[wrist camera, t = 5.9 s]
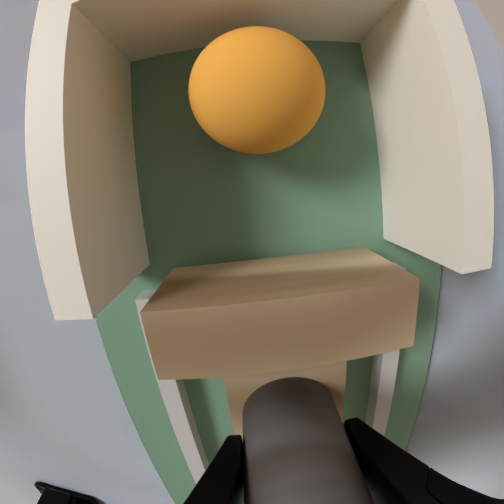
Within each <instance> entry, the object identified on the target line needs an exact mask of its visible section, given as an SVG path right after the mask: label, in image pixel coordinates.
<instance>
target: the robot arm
mask: <svg viewBox="0 0 504 504" xmlns="http://www.w3.org/2000/svg"><path fill="white" fill-rule="evenodd" d="M344 427H345V430H346V432H347V435H348V437H349V440H350V443H351V445H352V448H353V450H354V453H355V455H356V458H357V460H358V463H359V466H360V468H361V471H362V473H363V476H364V478H365V481H366V484H367V486H368V489H369V492H370V494H371V497H372V499H373V502H374V504H504V499H496V498H492V497H489V496H487V495H484V494H482V493H479V492H477V491H474V490H472V489H470V488H467V487H465V486H463V485H460V484H458V483H456V482H454V481H452V480H450V479H448V478H447V477H445V476H443V475H442V474H440V473H438V472H437V471H435V470H434V469H432V468H430V469H429V466H427V465H426V464H424V463H423V462H421V461H420V460H418V459H417V458H415V457H414V456H412V455H411V454H409V453H408V452H406V451H405V450H403V449H402V448H400V447H399V446H397V445H396V444H394V443H393V442H392V441H390V440H389V439H387V438H386V437H384V436H383V435H382V434H380V433H379V432H377V431H376V430H375V429H373V428H372V427H370V426H369V425H368V424H366V423H365V422H364V421H362V420H361V419H359V418H358V417H354V418H350V419H346V420H345V422H344ZM34 485H35V487H36V488H37V489H38V490H39V491H40V493H41V494H42V495H41V497H40V499H39V501H38V503H37V504H98V503H97V502H96V500H94V499H93V498H91V497H88V496H84V495H80V494H77V493H73V492H69V491H66V490H62V489H59V488H56V487H52V486H49V485H46V484H43V483H40V482H36V483H35V484H34ZM183 504H244V482H243V441H242V436H241V435H229V436H227V438H226V439H225V441H224V442H223V444H222V446H221V447H220V449H219V450H218V452H217V453H216V455H215V457H214V458H213V460H212V461H211V463H210V464H209V466H208V467H207V469H206V470H205V472H204V473H203V475H202V477H201V478H200V480H199V481H198V482H197V484H196V485H195V487H194V488H193V490H192V491H191V493H190V494H189V496H188V497H187V499H186V500H185V501H184V503H183Z"/></svg>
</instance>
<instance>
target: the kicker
mask: <svg viewBox="0 0 504 504" xmlns="http://www.w3.org/2000/svg"><path fill="white" fill-rule="evenodd" d="M419 283H420V278H418V277H417V276H415V275H413V274H412V273H410V272H408V271H406V270H405V269H403V268H401V267H399V266H398V265H396V264H394V263H392V262H391V261H389V260H387V259H385V258H384V257H382V256H380V255H378V254H376V253H375V252H373V251H371V250H369V249H367V248H366V247H359V248H351V249H342V250H333V251H325V252H316V253H307V254H299V255H290V256H281V257H272V258H263V259H254V260H245V261H236V262H227V263H217V264H208V265H199V266H189V267H180V268H173V269H172V271H171V272H170V273H169V275H168V276H167V277H166V278H165V280H164V281H163V282H162V284H161V285H160V286H159V288H158V289H157V290H156V291H155V293H154V294H153V295H152V297H151V298H150V299H149V301H148V302H147V303H146V305H145V306H144V307H143V309H142V310H141V311H140V315H141V319H142V323H143V327H144V331H145V335H146V339H147V342H148V346H149V350H150V353H151V357H152V360H153V364H154V367H155V371H156V374H157V377H158V380H179V379H202V378H218V377H223V379H224V384H225V389H226V394H227V399H228V404H229V409H230V414H231V419H232V423H233V428H234V433H235V435H241V436H242V441H243V482H244V504H374V502H373V499H372V497H371V494H370V492H369V489H368V486H367V484H366V481H365V478H364V476H363V473H362V471H361V468H360V466H359V463H358V460H357V458H356V455H355V453H354V450H353V448H352V445H351V443H350V440H349V437H348V435H347V432H346V430H345V427H344V425H343V411H344V398H345V384H346V366H347V361H349V360H354V359H359V358H364V357H368V356H373V355H378V354H382V353H386V352H391V351H395V350H399V349H403V348H407V347H411V346H413V344H414V336H415V328H416V319H417V309H418V298H419Z"/></svg>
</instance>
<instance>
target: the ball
mask: <svg viewBox="0 0 504 504" xmlns="http://www.w3.org/2000/svg"><path fill="white" fill-rule="evenodd" d="M188 94H189V102H190V106H191V109H192V112H193V114H194V116H195V118H196V120H197V122H198V123H199V125H200V126H201V127H202V129H203V130H204V131H205V132H206V133H207V134H208V135H209V136H210V137H211V138H212V139H214V140H215V141H217V142H218V143H220V144H221V145H223V146H225V147H227V148H230V149H232V150H235V151H238V152H243V153H250V154H265V153H272V152H276V151H279V150H282V149H285V148H287V147H289V146H291V145H293V144H295V143H296V142H298V141H299V140H301V139H302V138H303V137H304V136H305V135H306V134H308V132H309V131H310V130H311V129H312V128H313V126H314V125H315V124H316V122H317V120H318V118H319V117H320V114H321V112H322V109H323V106H324V101H325V94H326V92H325V79H324V75H323V72H322V69H321V66H320V64H319V62H318V60H317V58H316V57H315V56H314V54H313V53H312V52H311V50H310V49H309V48H308V47H307V46H306V45H305V44H304V43H303V42H301V41H300V40H299V39H297V38H296V37H294V36H293V35H291V34H289V33H287V32H285V31H282V30H279V29H276V28H271V27H265V26H248V27H242V28H237V29H234V30H231V31H229V32H227V33H225V34H222V35H221V36H219V37H217V38H216V39H214V40H213V41H212V42H211V43H209V44H208V45H207V46H206V48H205V49H204V50H203V51H202V52H201V53H200V55H199V56H198V58H197V59H196V61H195V63H194V65H193V68H192V70H191V74H190V78H189V85H188Z"/></svg>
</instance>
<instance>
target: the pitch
mask: <svg viewBox="0 0 504 504" xmlns="http://www.w3.org/2000/svg"><path fill="white" fill-rule="evenodd" d="M248 26H265V27H271V28H276V29H279V30H282V31H285V32H287V33H289V34H291V35H293V36H294V37H296V38H297V39H299V40H300V41H301V42H303V43H304V44H305V45H306V46H307V47H308V48H309V49H310V50H311V52H312V53H313V54H314V56H315V57H316V58H317V60H318V62H319V64H320V66H321V69H322V72H323V75H324V79H325V92H326V94H325V101H324V106H323V109H322V112H321V114H320V117H319V118H318V120H317V122H316V124H315V125H314V126H313V128H312V129H311V130H310V131H309V132H308V134H306V135H305V136H304V137H303V138H302V139H301V140H299V141H298V142H296V143H295V144H293V145H291V146H289V147H287V148H285V149H282V150H279V151H276V152H272V153H265V154H250V153H243V152H238V151H235V150H232V149H230V148H227V147H225V146H223V145H221V144H220V143H218V142H217V141H215V140H214V139H212V138H211V137H210V136H209V135H208V134H207V133H206V132H205V131H204V130H203V129H202V127H201V126H200V125H199V123H198V122H197V120H196V118H195V116H194V114H193V112H192V109H191V106H190V102H189V94H188V85H189V78H190V74H191V70H192V68H193V65H194V63H195V61H196V59H197V58H198V56H199V55H200V53H201V52H202V51H203V50H204V49H205V48H206V46H207V45H208V44H209V43H211V42H212V41H213V40H214V39H216V38H217V37H219V36H221V35H222V34H225V33H227V32H229V31H231V30H234V29H237V28H242V27H248ZM25 151H26V169H27V182H28V192H29V201H30V209H31V216H32V223H33V229H34V235H35V241H36V246H37V251H38V256H39V261H40V265H41V270H42V274H43V278H44V282H45V286H46V290H47V294H48V298H49V301H50V305H51V308H52V312H53V315H54V318H55V320H81V319H94V318H96V321H97V325H98V328H99V331H100V335H101V338H102V341H103V344H104V347H105V350H106V353H107V356H108V359H109V362H110V365H111V368H112V371H113V374H114V376H115V379H116V382H117V384H118V387H119V390H120V392H121V395H122V397H123V400H124V402H125V405H126V407H127V409H128V412H129V414H130V416H131V419H132V421H133V423H134V425H135V428H136V430H137V432H138V434H139V436H140V439H141V441H142V443H143V445H144V447H145V449H146V451H147V453H148V455H149V457H150V459H151V461H152V463H153V465H154V467H155V469H156V470H157V472H158V474H159V476H160V478H161V480H162V481H163V483H164V485H165V487H166V488H167V490H168V492H169V494H170V495H171V497H172V499H173V500H174V502H175V504H183V503H184V501H185V500H186V499H187V497H188V496H189V494H190V493H191V491H192V490H193V488H194V487H195V485H196V484H197V482H198V481H199V480H200V478H201V477H202V475H203V473H204V472H205V470H206V469H207V467H208V466H209V464H210V463H211V461H212V460H213V458H214V457H215V455H216V453H217V452H218V450H219V449H220V447H221V446H222V444H223V442H224V441H225V439H226V438H227V436H229V435H235V433H234V428H233V423H232V419H231V414H230V409H229V404H228V399H227V394H226V389H225V384H224V379H223V377H218V378H202V379H179V380H158V377H157V374H156V371H155V367H154V364H153V360H152V357H151V353H150V350H149V346H148V342H147V339H146V335H145V331H144V327H143V323H142V319H141V315H140V311H141V310H142V309H143V307H144V306H145V305H146V303H147V302H148V301H149V299H150V298H151V297H152V295H153V294H154V293H155V291H156V290H157V289H158V288H159V286H160V285H161V284H162V282H163V281H164V280H165V278H166V277H167V276H168V275H169V273H170V272H171V271H172V269H173V268H180V267H189V266H199V265H208V264H217V263H227V262H236V261H245V260H254V259H263V258H272V257H281V256H290V255H299V254H307V253H316V252H325V251H333V250H342V249H351V248H359V247H366V248H367V249H369V250H371V251H373V252H375V253H376V254H378V255H380V256H382V257H384V258H385V259H387V260H389V261H391V262H392V263H394V264H396V265H398V266H399V267H401V268H403V269H405V270H406V271H408V272H410V273H412V274H413V275H415V276H417V277H418V278H420V283H419V298H418V309H417V319H416V328H415V336H414V344H413V346H411V347H407V348H403V349H399V350H395V351H391V352H386V353H382V354H378V355H373V356H368V357H364V358H359V359H354V360H349V361H347V366H346V384H345V398H344V411H343V425H344V422H345V420H346V419H350V418H354V417H358V418H359V419H361V420H362V421H364V422H365V423H366V424H368V425H369V426H370V427H372V428H373V429H375V430H376V431H377V432H379V433H380V434H382V435H383V436H384V437H386V438H387V439H389V440H390V441H392V442H393V443H394V444H396V445H397V446H399V447H400V448H402V449H403V450H405V451H406V449H407V446H408V443H409V440H410V437H411V434H412V431H413V427H414V424H415V421H416V417H417V413H418V410H419V406H420V402H421V398H422V394H423V390H424V386H425V381H426V376H427V372H428V367H429V362H430V356H431V351H432V345H433V339H434V332H435V325H436V318H437V310H438V301H439V290H440V278H441V265H443V266H445V267H447V268H449V269H451V270H453V271H456V272H458V273H460V274H466V273H471V272H476V271H480V270H485V269H489V268H491V265H492V253H493V236H494V185H493V167H492V155H491V146H490V137H489V130H488V123H487V116H486V110H485V105H484V100H483V95H482V90H481V85H480V81H479V77H478V73H477V69H476V65H475V61H474V58H473V54H472V51H471V47H470V44H469V41H468V38H467V35H466V32H465V29H464V26H463V23H462V20H461V18H460V15H459V12H458V10H457V7H456V5H455V2H454V0H39V4H38V9H37V14H36V18H35V23H34V29H33V35H32V41H31V48H30V55H29V63H28V73H27V85H26V103H25Z"/></svg>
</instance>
